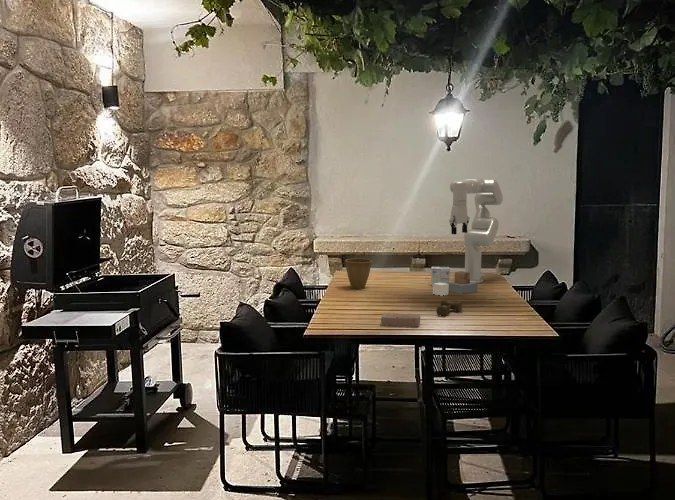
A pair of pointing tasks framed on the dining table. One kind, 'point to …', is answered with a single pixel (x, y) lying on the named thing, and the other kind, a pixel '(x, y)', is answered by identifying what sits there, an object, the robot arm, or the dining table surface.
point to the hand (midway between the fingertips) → (459, 233)
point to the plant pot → (358, 272)
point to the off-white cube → (440, 289)
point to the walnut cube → (462, 277)
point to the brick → (400, 319)
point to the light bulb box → (440, 275)
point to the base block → (462, 287)
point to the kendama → (448, 307)
